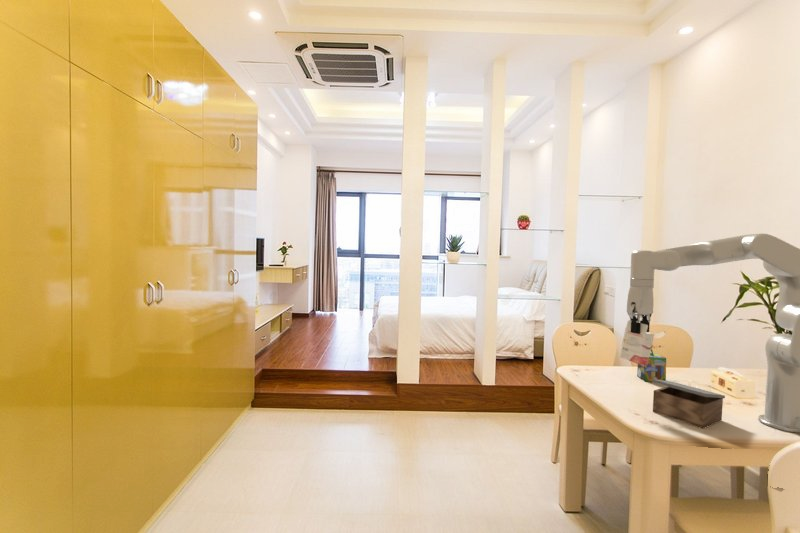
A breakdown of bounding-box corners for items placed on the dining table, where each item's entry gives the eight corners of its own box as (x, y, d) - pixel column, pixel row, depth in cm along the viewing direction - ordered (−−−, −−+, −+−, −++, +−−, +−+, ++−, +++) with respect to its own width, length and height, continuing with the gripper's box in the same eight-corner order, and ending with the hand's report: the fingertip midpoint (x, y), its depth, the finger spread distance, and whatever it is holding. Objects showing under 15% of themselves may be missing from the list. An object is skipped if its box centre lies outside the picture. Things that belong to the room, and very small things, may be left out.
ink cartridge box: (648, 365, 149) (657, 326, 148) (639, 364, 147) (648, 325, 146) (627, 357, 157) (635, 320, 156) (618, 356, 154) (626, 319, 153)
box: (721, 420, 143) (722, 398, 143) (702, 428, 136) (703, 405, 135) (672, 405, 157) (673, 384, 156) (652, 411, 149) (653, 390, 149)
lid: (724, 398, 142) (725, 395, 142) (705, 396, 134) (705, 393, 135) (671, 384, 157) (672, 381, 157) (651, 381, 149) (652, 379, 149)
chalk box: (666, 383, 184) (667, 351, 183) (643, 381, 186) (645, 349, 185) (657, 377, 193) (659, 346, 192) (636, 375, 195) (637, 345, 194)
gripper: (644, 282, 158) (642, 328, 158) (618, 283, 149) (616, 332, 150) (664, 283, 151) (662, 332, 152) (639, 285, 143) (637, 336, 143)
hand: (639, 331), depth 151 cm, fingers closed on ink cartridge box, 5 cm apart
